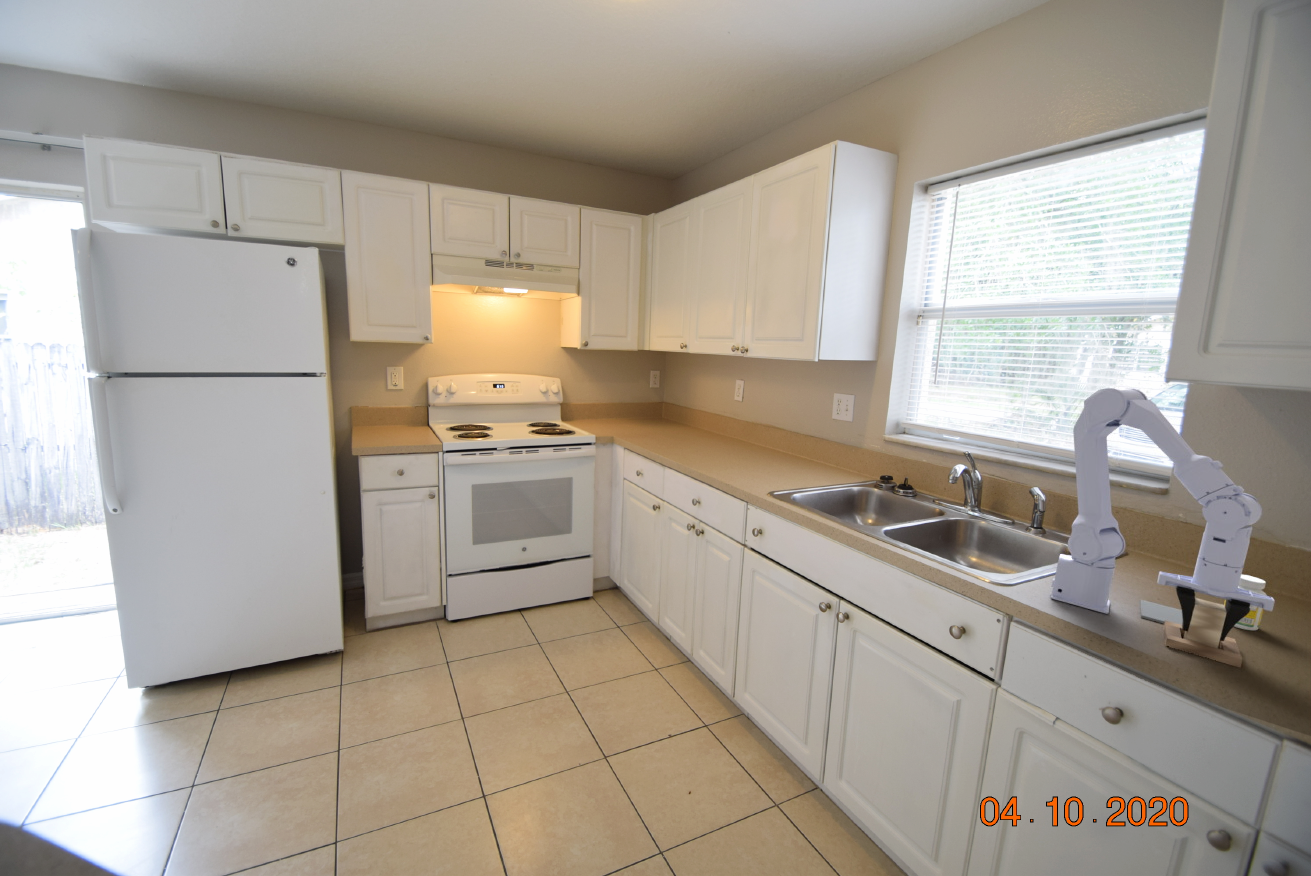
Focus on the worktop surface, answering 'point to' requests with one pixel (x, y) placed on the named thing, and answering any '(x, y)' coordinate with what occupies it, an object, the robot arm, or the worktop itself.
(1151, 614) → the slate mat
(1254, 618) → the supplement bottle
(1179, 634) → the pocket block
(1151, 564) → the worktop surface
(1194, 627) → the maple part
